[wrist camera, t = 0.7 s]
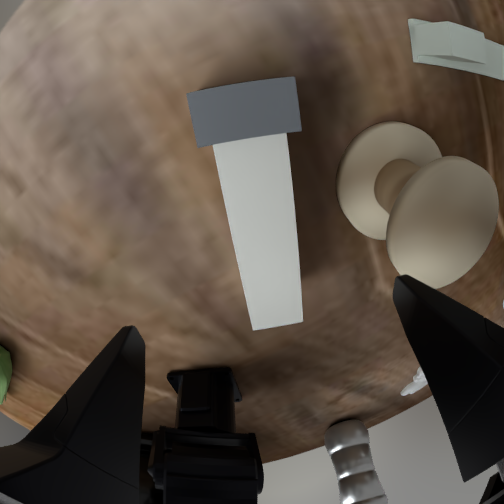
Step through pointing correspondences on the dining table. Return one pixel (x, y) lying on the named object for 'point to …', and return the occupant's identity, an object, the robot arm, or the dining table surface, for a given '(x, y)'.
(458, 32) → the notched board
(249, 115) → the mallet
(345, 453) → the plastic bottle
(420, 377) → the acanthus leaf ornament
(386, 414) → the dining table surface
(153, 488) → the amphora vase
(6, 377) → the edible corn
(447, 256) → the bobbin
